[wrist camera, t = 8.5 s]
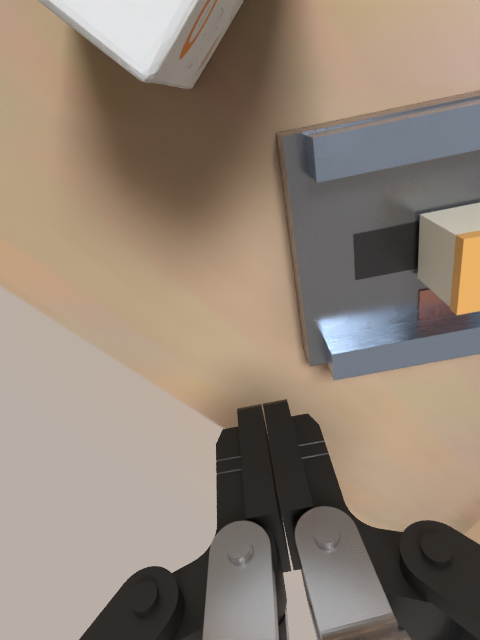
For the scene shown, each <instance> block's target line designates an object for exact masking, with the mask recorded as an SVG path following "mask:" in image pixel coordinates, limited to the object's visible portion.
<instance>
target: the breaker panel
mask: <svg viewBox="0 0 480 640" xmlns="http://www.w3.org/2000/svg"><path fill="white" fill-rule="evenodd" d="M276 136H277V144H278V152H279V159H280V167H281V175H282V183H283V191H284V198H285V206H286V214H287V222H288V230H289V237H290V245H291V253H292V261H293V269H294V276H295V284H296V292H297V300H298V307H299V315H300V323H301V331H302V339H303V346H304V350H305V353H306V356H307V359H308V362H309V364H310V366H315V365H320V364H325V363H327V365H328V367H329V370H330V372H331V374H332V377H333V379H334V380H338V379H344V378H349V377H355V376H360V375H366V374H371V373H377V372H382V371H388V370H393V369H399V368H404V367H410V366H415V365H420V364H426V363H431V362H437V361H442V360H448V359H453V358H459V357H464V356H470V355H475V354H480V311H477V312H472V313H467V314H461V315H456V314H455V313H454V312H452V311H451V310H450V307H449V306H448V305H447V304H446V303H445V302H444V301H443V300H442V299H440V298H439V297H438V296H437V295H436V294H435V293H434V292H433V291H431V290H430V289H429V288H428V287H427V286H426V285H425V284H424V283H423V282H421V281H420V280H419V279H418V253H419V226H420V214H424V213H429V212H434V211H439V210H444V209H449V208H454V207H459V206H464V205H470V204H475V203H480V91H475V92H470V93H465V94H461V95H456V96H451V97H446V98H441V99H437V100H432V101H427V102H422V103H418V104H413V105H408V106H403V107H398V108H394V109H389V110H384V111H379V112H374V113H370V114H365V115H360V116H355V117H351V118H346V119H341V120H336V121H331V122H327V123H322V124H317V125H312V126H307V127H303V128H298V129H293V130H288V131H283V132H279V133H276Z"/></svg>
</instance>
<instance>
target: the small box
mask: <svg viewBox="0 0 480 640" xmlns="http://www.w3.org/2000/svg"><path fill="white" fill-rule="evenodd" d="M38 1H40V2H41V3H42V4H43V5H45V6H46V7H47V8H48V9H50V10H51V11H52V12H53V13H55V14H56V15H57V16H58V17H60V18H61V19H62V20H63V21H65V22H66V23H67V24H68V25H70V26H71V27H72V28H73V29H75V30H76V31H77V32H79V33H80V34H81V35H82V36H84V37H85V38H86V39H87V40H89V41H90V42H91V43H92V44H94V45H95V46H96V47H97V48H99V49H100V50H101V51H102V52H104V53H105V54H106V55H107V56H109V57H110V58H111V59H113V60H114V61H115V62H116V63H118V64H119V65H120V66H122V67H123V68H124V69H125V70H127V71H128V72H129V73H131V74H132V75H133V76H134V77H136V78H137V79H138V80H140V81H142V82H144V83H156V84H163V85H168V86H173V87H178V88H184V89H192V88H193V86H194V85H195V83H196V81H197V80H198V78H199V76H200V75H201V73H202V72H203V70H204V68H205V67H206V65H207V63H208V61H209V60H210V58H211V56H212V55H213V53H214V51H215V50H216V48H217V46H218V44H219V43H220V41H221V39H222V38H223V36H224V34H225V32H226V31H227V29H228V27H229V26H230V24H231V22H232V20H233V19H234V17H235V15H236V13H237V12H238V10H239V8H240V7H241V5H242V3H243V1H244V0H38Z"/></svg>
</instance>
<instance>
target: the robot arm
mask: <svg viewBox="0 0 480 640" xmlns="http://www.w3.org/2000/svg"><path fill="white" fill-rule="evenodd" d="M263 407H264V413H265V419H266V425H267V430H266V425H265V420H264V416H263V411H262V406H261V404H259V405H254V406H249V407H243V408H238V409H237V414H238V426H239V427H234V428H228V429H223V430H222V432H221V435H220V437H219V439H218V441H217V443H216V460H217V463H216V471H217V530H216V535H215V537H214V539H213V541H212V543H211V545H210V547H209V548H208V549H207V551H206V552H205V553H204V554H203V555H202V556H200V557H199V558H198V559H197V560H195V561H193V562H192V563H190V564H188V565H186V566H184V567H182V568H180V569H179V570H177V571H175V572H173V573H171V572H170V571H168V570H167V569H165V568H163V567H158V566H152V567H147V568H144V569H142V570H139V571H138V572H136V573H135V574H133V575H132V576H131V577H130V578H129V579H128V580H127V581H126V582H125V583H124V584H123V586H122V587H121V588H120V589H119V591H118V592H117V593H116V594H115V595H114V597H113V598H112V599H111V601H110V602H109V603H108V604H107V606H106V607H105V608H104V609H103V611H102V612H101V613H100V614H99V616H98V617H97V618H96V619H95V621H94V622H93V623H92V624H91V626H90V627H89V628H88V629H87V631H86V632H85V633H84V634H83V636H82V637H81V638H80V639H79V640H289V633H288V620H287V608H286V603H287V599H286V591H285V584H284V578H283V572H288V571H291V567H290V561H289V555H288V549H287V543H286V537H287V541H288V546H289V550H290V555H291V560H292V564H293V569H294V570H298V569H301V571H302V576H303V581H304V586H305V591H306V596H307V601H308V606H309V610H310V613H311V617H312V621H313V625H314V628H315V633H316V636H317V640H480V545H479V544H478V543H476V542H474V541H473V540H471V539H469V538H468V537H466V536H465V535H463V534H461V533H460V532H458V531H457V530H455V529H453V528H452V527H450V526H448V525H446V524H443V523H440V522H436V521H429V520H426V521H419V522H415V523H413V524H411V525H410V526H408V527H407V528H406V529H405V530H404V532H398V531H391V530H384V529H378V528H374V527H371V526H368V525H366V524H364V523H363V522H361V521H360V520H358V519H357V518H356V517H355V516H354V515H353V514H352V513H351V512H350V511H349V510H348V508H347V506H346V504H345V502H344V499H343V496H342V493H341V490H340V487H339V484H338V481H337V478H336V475H335V472H334V469H333V466H332V463H331V460H330V456H329V454H328V450H327V447H326V444H325V442H324V438H323V435H322V432H321V429H320V426H319V424H318V423H317V422H316V421H315V420H314V419H313V418H312V417H311V416H310V415H309V414H303V415H297V416H292V417H291V414H290V410H289V406H288V403H287V399H285V400H280V401H275V402H269V403H264V404H263ZM267 431H268V434H267ZM268 437H269V439H268ZM269 443H270V444H269ZM282 518H283V519H282ZM283 523H284V525H283ZM284 527H285V531H284ZM285 532H286V537H285Z"/></svg>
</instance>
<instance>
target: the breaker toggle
mask: <svg viewBox="0 0 480 640" xmlns="http://www.w3.org/2000/svg"><path fill="white" fill-rule="evenodd" d="M418 279H419V280H420V281H421V282H423V283H424V284H425V285H426V286H427V287H428V288H429V289H430V290H431V291H433V292H434V293H435V294H436V295H437V296H438V297H439V298H440V299H442V300H443V301H444V302H445V303H446V304H447V305H448V306H449V307H450V310H451V311H452V312H454V313H455V314H456V315H461V314H467V313H472V312H477V311H480V203H475V204H470V205H464V206H459V207H454V208H449V209H444V210H439V211H434V212H429V213H424V214H420V226H419V253H418Z"/></svg>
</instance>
